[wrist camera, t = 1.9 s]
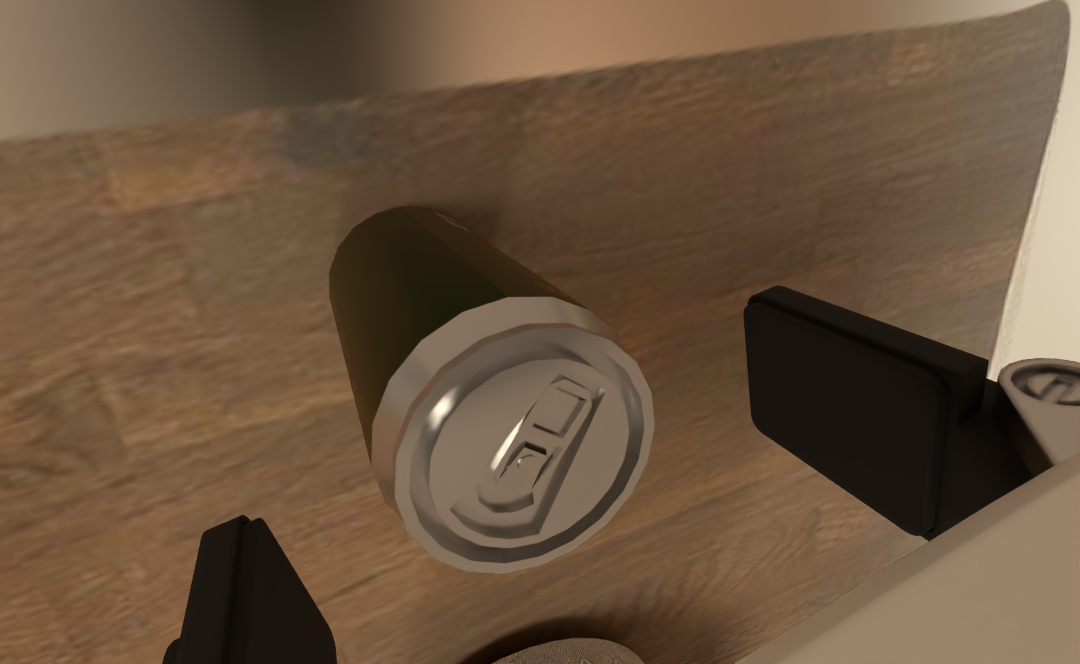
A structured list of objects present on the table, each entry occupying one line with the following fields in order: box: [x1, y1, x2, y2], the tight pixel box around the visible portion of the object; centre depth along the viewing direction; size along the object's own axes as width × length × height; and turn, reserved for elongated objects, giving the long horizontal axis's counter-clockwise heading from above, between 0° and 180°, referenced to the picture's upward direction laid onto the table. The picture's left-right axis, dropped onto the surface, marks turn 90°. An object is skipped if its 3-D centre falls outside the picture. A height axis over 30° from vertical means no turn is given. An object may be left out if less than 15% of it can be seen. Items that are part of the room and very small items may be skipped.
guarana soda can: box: [329, 207, 655, 574], centre depth 15 cm, size 5×5×12 cm
